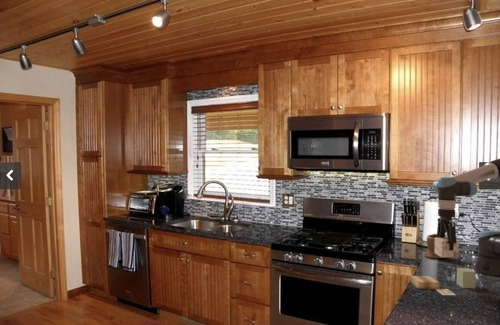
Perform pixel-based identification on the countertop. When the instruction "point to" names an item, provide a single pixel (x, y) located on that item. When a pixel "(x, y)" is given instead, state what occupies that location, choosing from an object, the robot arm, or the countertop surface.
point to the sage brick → (466, 278)
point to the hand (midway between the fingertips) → (446, 254)
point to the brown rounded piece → (431, 247)
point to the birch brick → (445, 247)
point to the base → (424, 282)
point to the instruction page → (445, 292)
